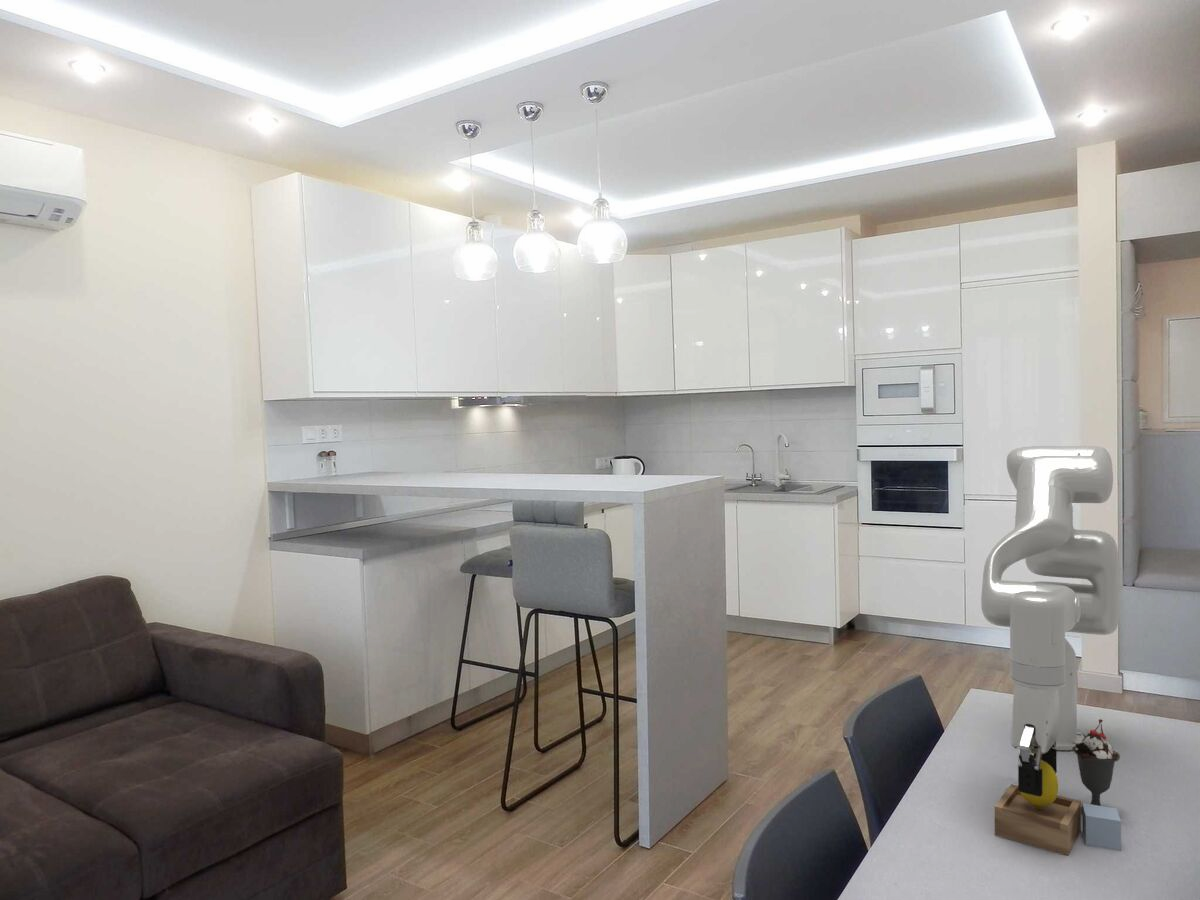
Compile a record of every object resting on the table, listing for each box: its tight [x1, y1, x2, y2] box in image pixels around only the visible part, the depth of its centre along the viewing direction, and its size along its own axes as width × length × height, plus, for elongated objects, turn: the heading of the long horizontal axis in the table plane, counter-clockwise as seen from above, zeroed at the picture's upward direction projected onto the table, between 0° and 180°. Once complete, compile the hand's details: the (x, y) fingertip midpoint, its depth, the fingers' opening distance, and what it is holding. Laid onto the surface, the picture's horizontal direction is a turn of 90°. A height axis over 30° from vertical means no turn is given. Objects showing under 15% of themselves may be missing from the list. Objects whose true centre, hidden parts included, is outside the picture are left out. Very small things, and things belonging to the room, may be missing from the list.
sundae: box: [1072, 718, 1121, 815], centre depth 133 cm, size 7×7×15 cm
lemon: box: [1021, 758, 1059, 809], centre depth 128 cm, size 6×6×8 cm
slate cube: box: [1081, 802, 1122, 852], centre depth 125 cm, size 4×4×4 cm
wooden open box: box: [994, 784, 1082, 857], centre depth 128 cm, size 10×10×4 cm
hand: (1037, 782), depth 128 cm, fingers open, 9 cm apart
